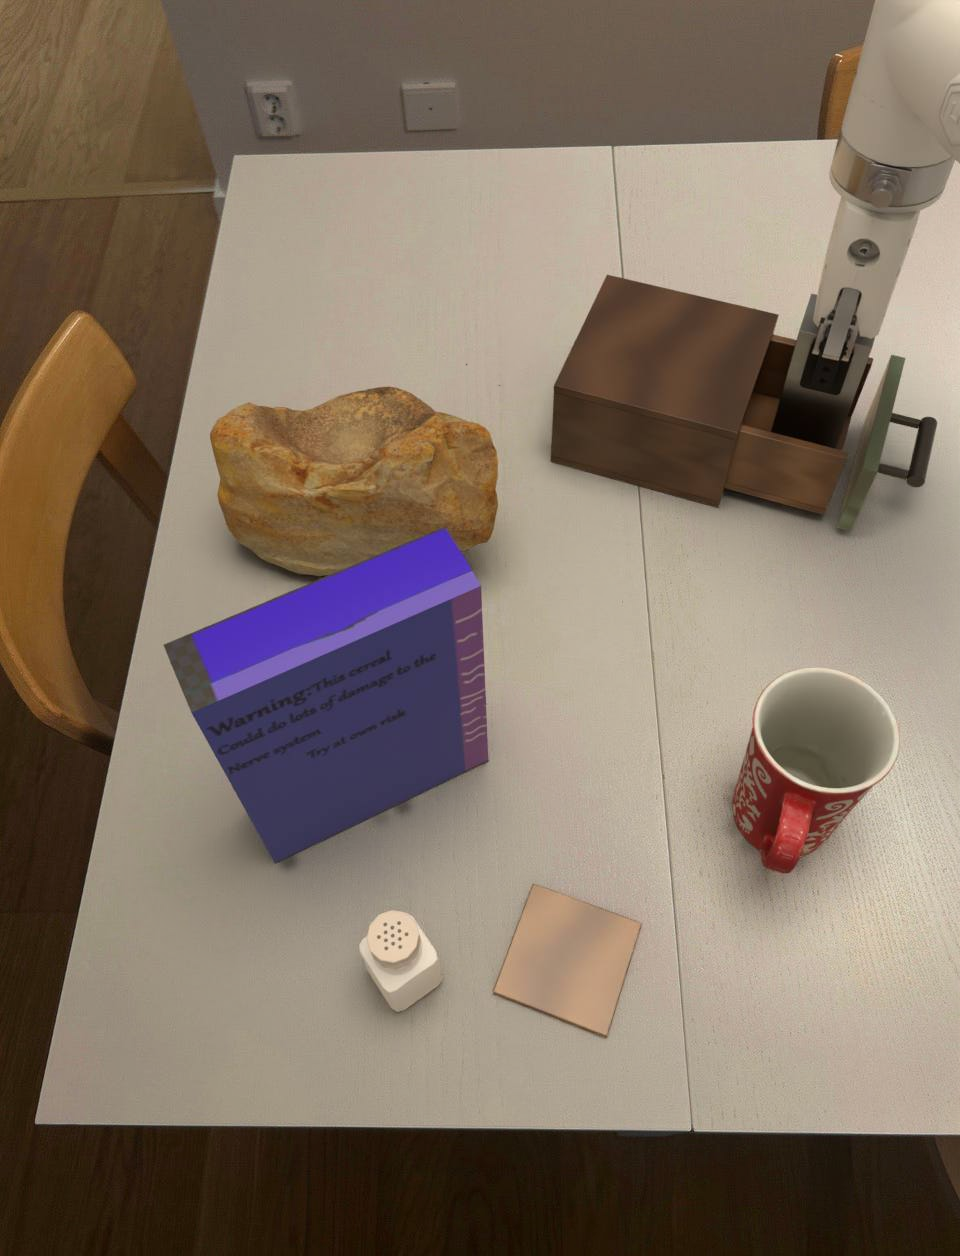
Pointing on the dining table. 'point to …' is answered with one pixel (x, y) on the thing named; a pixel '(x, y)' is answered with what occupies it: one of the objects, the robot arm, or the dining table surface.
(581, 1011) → the plate
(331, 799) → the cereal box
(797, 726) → the mug
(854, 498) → the drawer
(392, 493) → the rough brown rock
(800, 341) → the metal block
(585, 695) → the dining table surface
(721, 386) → the cabinet
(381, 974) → the pepper shaker
